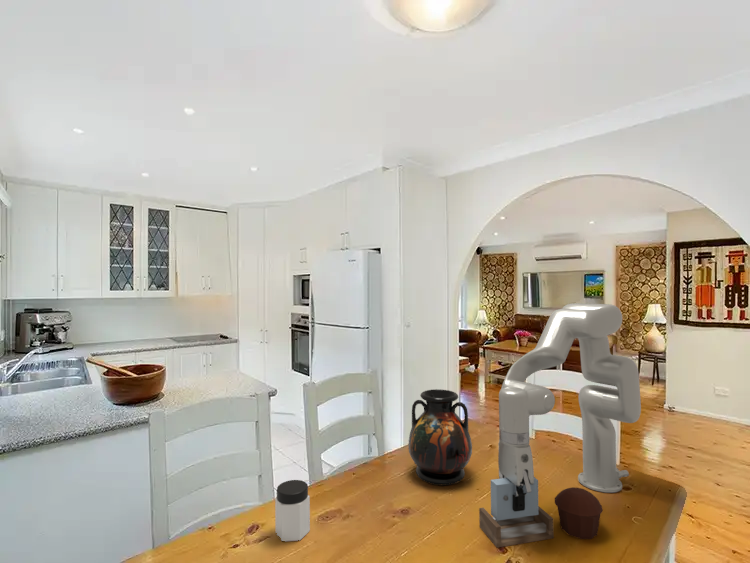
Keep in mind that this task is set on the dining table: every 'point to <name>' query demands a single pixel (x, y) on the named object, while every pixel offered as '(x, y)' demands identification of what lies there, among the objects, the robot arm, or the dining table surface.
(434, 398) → the amphora vase
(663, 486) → the dining table surface
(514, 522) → the wooden rack
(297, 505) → the jar
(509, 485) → the door panel
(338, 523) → the dining table surface
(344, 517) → the dining table surface
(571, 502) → the muffin
